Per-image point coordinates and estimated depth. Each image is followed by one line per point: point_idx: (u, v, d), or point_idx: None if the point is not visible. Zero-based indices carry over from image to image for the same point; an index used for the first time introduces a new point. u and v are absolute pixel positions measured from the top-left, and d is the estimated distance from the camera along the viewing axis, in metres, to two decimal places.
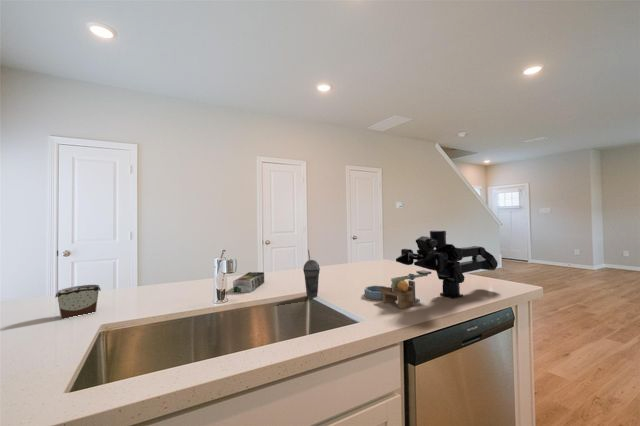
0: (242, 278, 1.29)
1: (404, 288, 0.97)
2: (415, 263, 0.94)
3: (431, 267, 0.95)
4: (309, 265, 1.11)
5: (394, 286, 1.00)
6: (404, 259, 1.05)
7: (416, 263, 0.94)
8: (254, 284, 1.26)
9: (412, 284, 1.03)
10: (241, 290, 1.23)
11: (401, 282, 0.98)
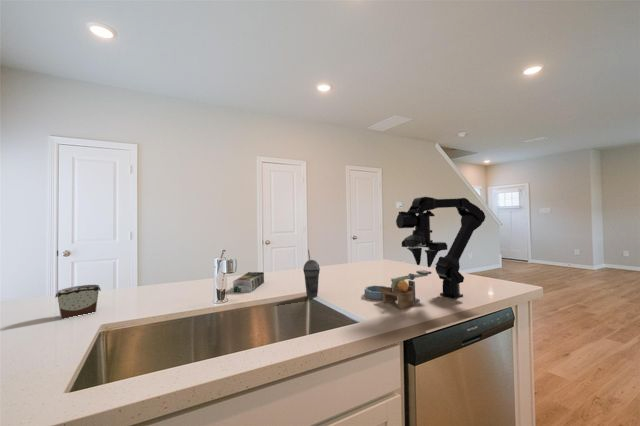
0: (242, 278, 1.29)
1: (404, 288, 0.97)
2: (429, 266, 1.05)
3: (436, 251, 1.04)
4: (309, 265, 1.11)
5: (394, 286, 1.00)
6: (418, 254, 1.10)
7: (429, 265, 1.05)
8: (254, 284, 1.26)
9: (412, 284, 1.03)
10: (241, 290, 1.23)
11: (401, 282, 0.98)
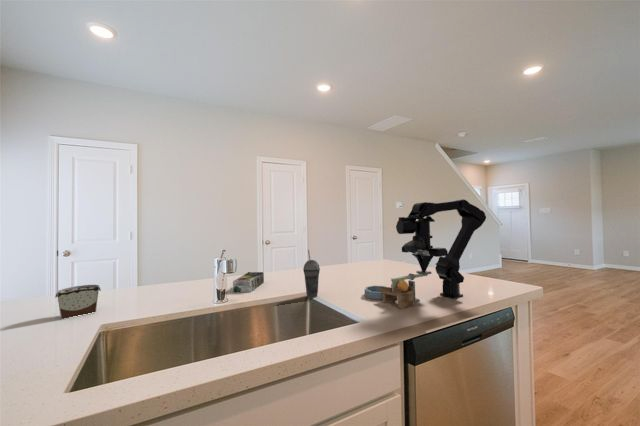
0: (242, 278, 1.29)
1: (404, 288, 0.97)
2: (424, 271, 1.07)
3: (431, 256, 1.06)
4: (309, 265, 1.11)
5: (394, 286, 1.00)
6: None
7: (424, 270, 1.07)
8: (254, 284, 1.26)
9: (412, 284, 1.03)
10: (241, 290, 1.23)
11: (401, 282, 0.98)
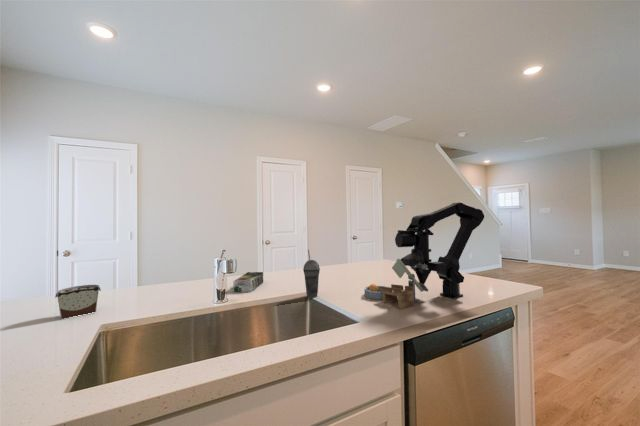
0: (242, 278, 1.29)
1: None
2: None
3: (429, 270, 1.06)
4: (309, 265, 1.11)
5: (396, 265, 1.00)
6: None
7: (423, 283, 1.06)
8: (254, 284, 1.27)
9: (412, 284, 1.03)
10: (242, 290, 1.23)
11: None
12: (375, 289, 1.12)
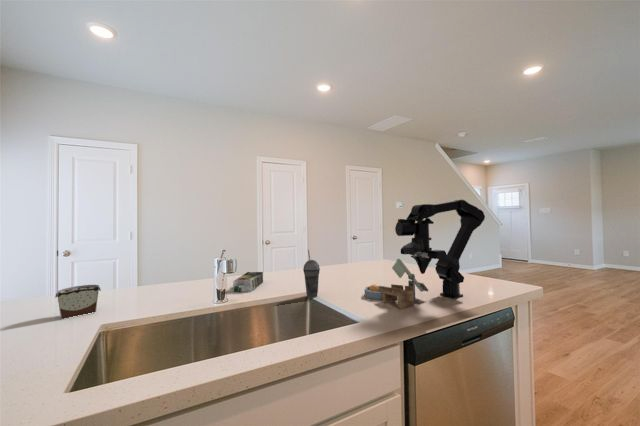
0: (242, 278, 1.29)
1: (370, 286, 1.13)
2: (423, 273, 1.07)
3: (430, 258, 1.06)
4: (309, 265, 1.11)
5: (396, 265, 1.00)
6: None
7: (423, 272, 1.06)
8: (254, 284, 1.27)
9: (412, 284, 1.03)
10: (241, 290, 1.23)
11: None
12: (376, 291, 1.11)
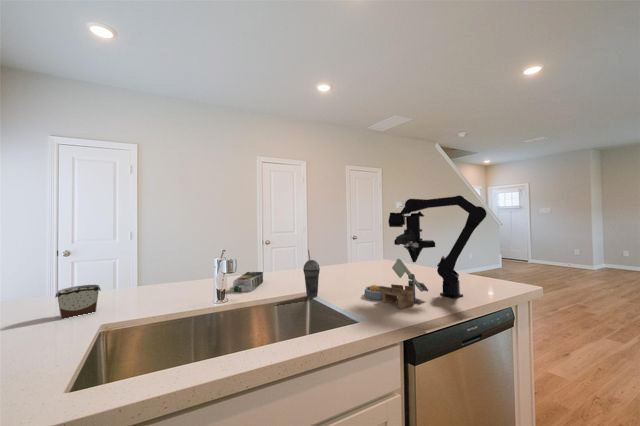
0: (242, 278, 1.30)
1: (370, 286, 1.13)
2: (414, 261, 1.17)
3: (420, 248, 1.16)
4: (309, 265, 1.11)
5: (396, 265, 1.00)
6: None
7: (415, 260, 1.16)
8: (254, 283, 1.27)
9: (412, 284, 1.03)
10: (241, 290, 1.23)
11: None
12: None
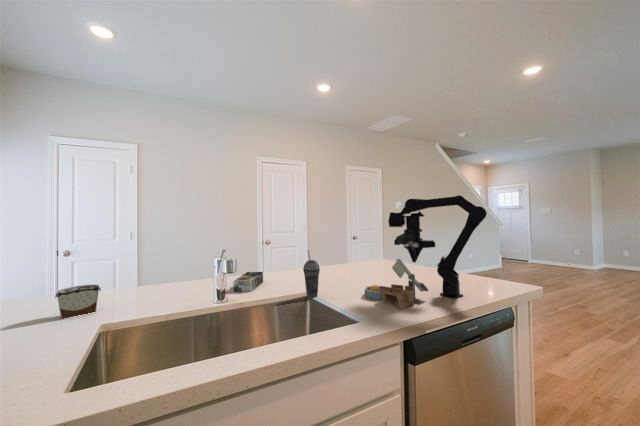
0: (242, 278, 1.30)
1: (371, 286, 1.12)
2: (414, 261, 1.17)
3: (420, 248, 1.16)
4: (309, 265, 1.11)
5: (396, 265, 1.00)
6: None
7: (415, 261, 1.16)
8: (254, 283, 1.27)
9: (412, 284, 1.03)
10: (241, 289, 1.24)
11: None
12: None
